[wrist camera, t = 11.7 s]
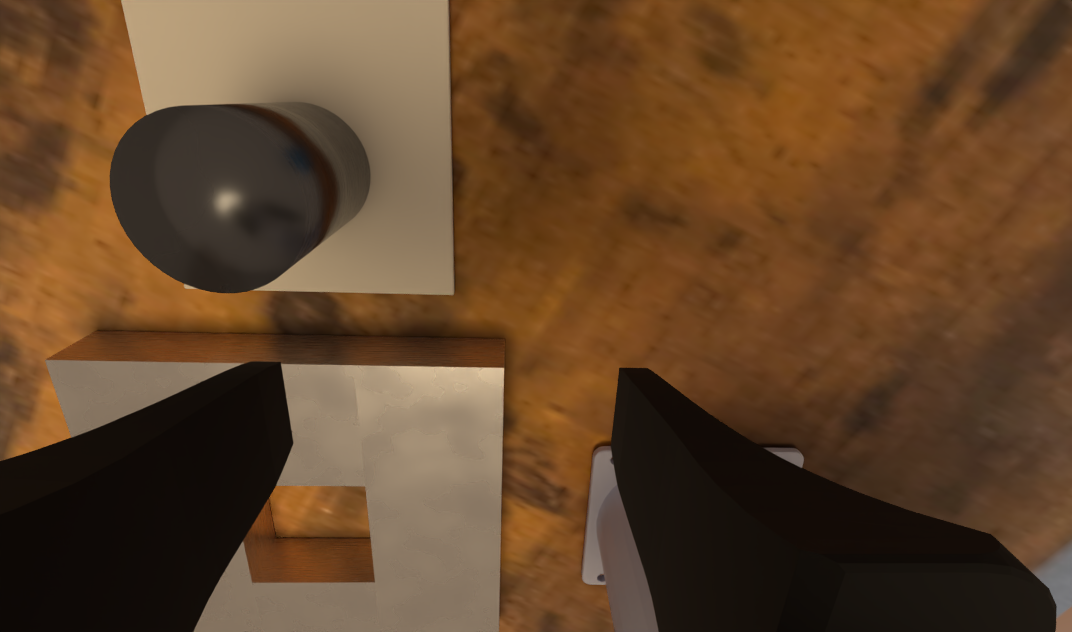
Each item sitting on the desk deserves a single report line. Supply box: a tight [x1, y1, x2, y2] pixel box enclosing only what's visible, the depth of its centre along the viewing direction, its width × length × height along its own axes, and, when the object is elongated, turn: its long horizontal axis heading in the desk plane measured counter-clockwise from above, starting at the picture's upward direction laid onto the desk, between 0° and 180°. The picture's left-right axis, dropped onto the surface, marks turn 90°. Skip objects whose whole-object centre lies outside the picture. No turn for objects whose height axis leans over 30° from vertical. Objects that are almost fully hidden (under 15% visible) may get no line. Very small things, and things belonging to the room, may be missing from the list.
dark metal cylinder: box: [110, 102, 371, 293], centre depth 16 cm, size 4×4×6 cm
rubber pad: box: [121, 0, 455, 295], centre depth 19 cm, size 10×10×1 cm
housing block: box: [45, 331, 505, 632], centre depth 23 cm, size 16×16×2 cm
